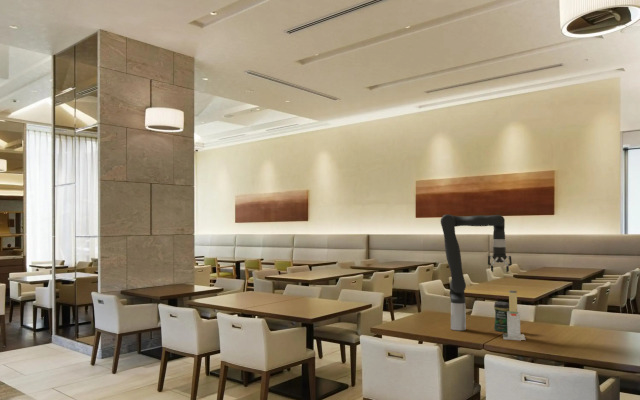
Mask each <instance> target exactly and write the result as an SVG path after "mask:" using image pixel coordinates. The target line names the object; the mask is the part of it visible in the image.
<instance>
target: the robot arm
mask: <svg viewBox="0 0 640 400" xmlns="http://www.w3.org/2000/svg"><path fill="white" fill-rule="evenodd" d="M505 222H506V221H505V217H504V216H503V215H501V214H495V215H494V214H493V215H482V214H481V215H469V216H468V215H467V216H462V215H461V216H459V215H452V214H444V215H443V216H442V217H441V219H440V224H441V225H440V226H441V229H442V232H443V238H444V249H445V250H444V251H445V257H446V261H447V264H448V267H449V270H450V276H451V280H450V282H449V298H450V330H454V331H466V330H467V324H466V322H467V317H466V316H467V315H466V311H467V310H466V297H465V290H466V287H467V283H466V280H465V277H464V274H463V267H462V266H463V264H462V255H461V249H460V245H459V242H458V239H457V235H456V229H455V228H456V227H466V226H467V227H491V226H492V227H493V233H492V234H493V235H492V238H493V239H492V241H493V242H492V254H493V255H488V256H487V265H488V266H490V270H491V272H492V273H493V272H494V265H495V263H502V264H503V263H504V264H505V269H506V270H505V271H506V273H508V272H509V271H510V269H509V268H510V266H512V265H513V263H512V256H511V255H507V249H506V247H507V245H506V234H505V233H506V232H505V228H506V227H505V226H506V225H505ZM491 259H493V261H492V262H491ZM506 259H508V261H509V263H508V262H507V261H506Z"/></svg>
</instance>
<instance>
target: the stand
mask: <svg viewBox="0 0 640 400" xmlns="http://www.w3.org/2000/svg"><path fill="white" fill-rule="evenodd" d="M502 337H503V340H510V341H521V340H525V341H526V336H525V334H523V333H522V334H521V313H520V311H517V313H510V312H509V311H507V332H502Z"/></svg>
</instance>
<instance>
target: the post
mask: <svg viewBox="0 0 640 400" xmlns="http://www.w3.org/2000/svg"><path fill="white" fill-rule="evenodd" d="M517 293H518V291H517V290H509V291H508V299H509V300H508V301H509V302H508V303H509V312H510V313H517V312H518V294H517Z"/></svg>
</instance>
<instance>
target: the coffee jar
mask: <svg viewBox="0 0 640 400" xmlns="http://www.w3.org/2000/svg"><path fill="white" fill-rule="evenodd" d="M493 306H494V307H493V308H494V313H495V314H494V315H495V317H494V327H493V328H494V331H496V332H501V333H507V311H509V302H508V301H507V302H506V301H495V302H494V305H493Z"/></svg>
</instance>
